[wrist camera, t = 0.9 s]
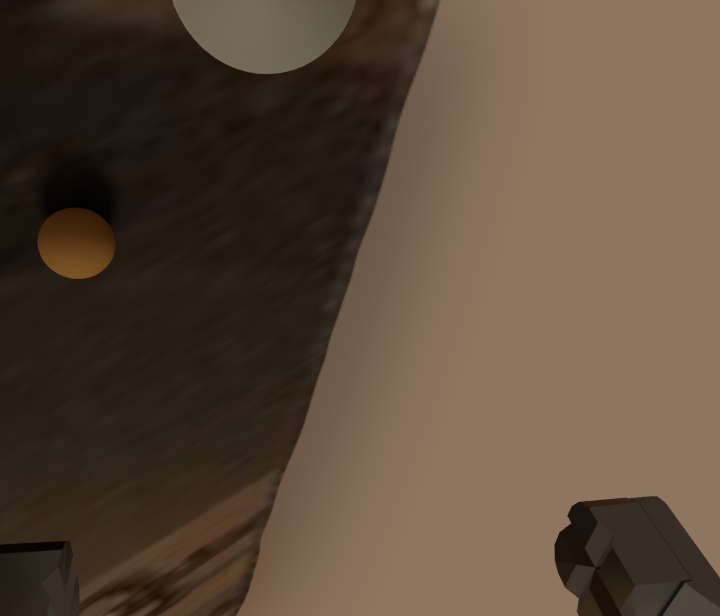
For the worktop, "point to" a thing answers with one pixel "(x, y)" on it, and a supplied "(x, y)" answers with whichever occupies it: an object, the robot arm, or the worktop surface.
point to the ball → (76, 243)
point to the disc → (265, 30)
